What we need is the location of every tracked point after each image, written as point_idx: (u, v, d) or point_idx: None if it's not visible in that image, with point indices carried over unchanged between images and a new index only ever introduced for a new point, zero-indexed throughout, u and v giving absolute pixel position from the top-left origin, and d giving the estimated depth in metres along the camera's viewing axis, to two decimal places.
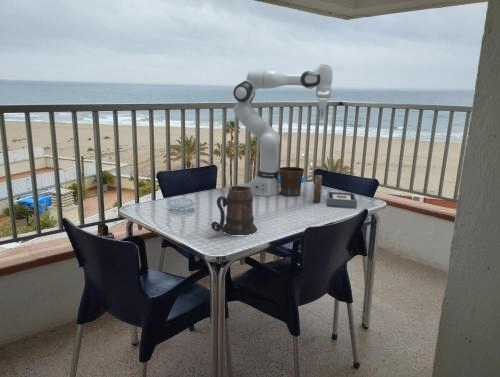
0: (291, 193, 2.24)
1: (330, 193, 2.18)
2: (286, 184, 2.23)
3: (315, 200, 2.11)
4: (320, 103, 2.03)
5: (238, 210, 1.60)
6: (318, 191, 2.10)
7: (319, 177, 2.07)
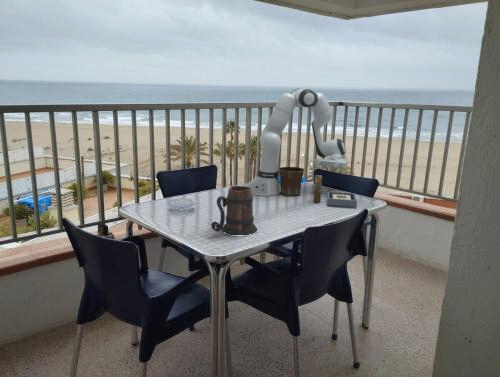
0: (291, 193, 2.24)
1: (330, 193, 2.18)
2: (286, 184, 2.23)
3: (315, 200, 2.11)
4: (346, 162, 2.20)
5: (238, 210, 1.60)
6: (318, 191, 2.10)
7: (319, 177, 2.07)
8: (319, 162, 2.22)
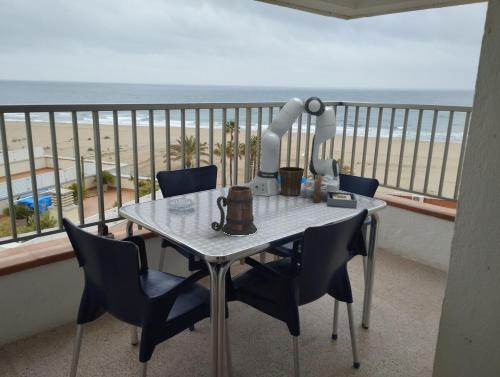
0: (291, 193, 2.24)
1: (330, 193, 2.18)
2: (286, 184, 2.23)
3: (315, 200, 2.11)
4: (338, 185, 2.12)
5: (238, 210, 1.60)
6: (318, 191, 2.10)
7: (319, 177, 2.07)
8: (313, 184, 2.13)
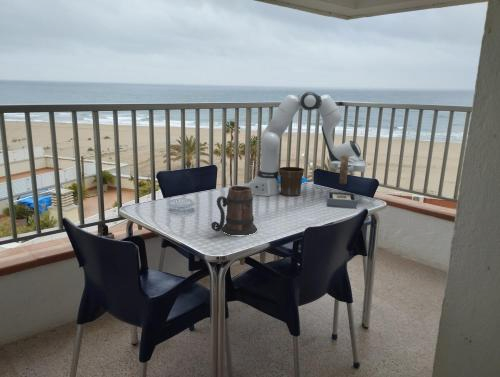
0: (291, 193, 2.24)
1: (330, 193, 2.18)
2: (286, 184, 2.23)
3: (341, 181, 2.07)
4: None
5: (238, 210, 1.60)
6: (345, 172, 2.05)
7: (346, 157, 2.03)
8: (339, 165, 2.08)
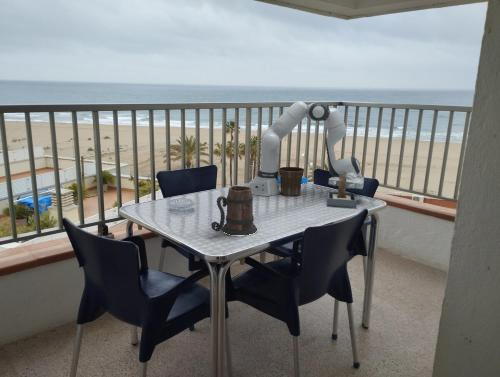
0: (291, 193, 2.24)
1: (330, 193, 2.18)
2: (286, 184, 2.23)
3: None
4: (363, 182, 2.10)
5: (238, 210, 1.60)
6: (343, 190, 2.08)
7: (344, 176, 2.06)
8: (335, 182, 2.12)
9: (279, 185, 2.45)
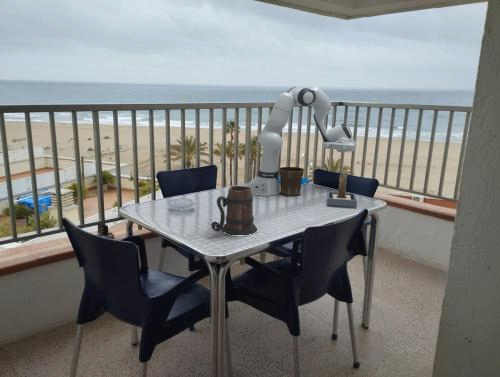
0: (291, 193, 2.24)
1: (330, 193, 2.18)
2: (286, 184, 2.23)
3: None
4: (355, 145, 2.24)
5: (238, 210, 1.60)
6: (343, 191, 2.08)
7: (344, 176, 2.05)
8: (328, 145, 2.26)
9: (280, 185, 2.45)
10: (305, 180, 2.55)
